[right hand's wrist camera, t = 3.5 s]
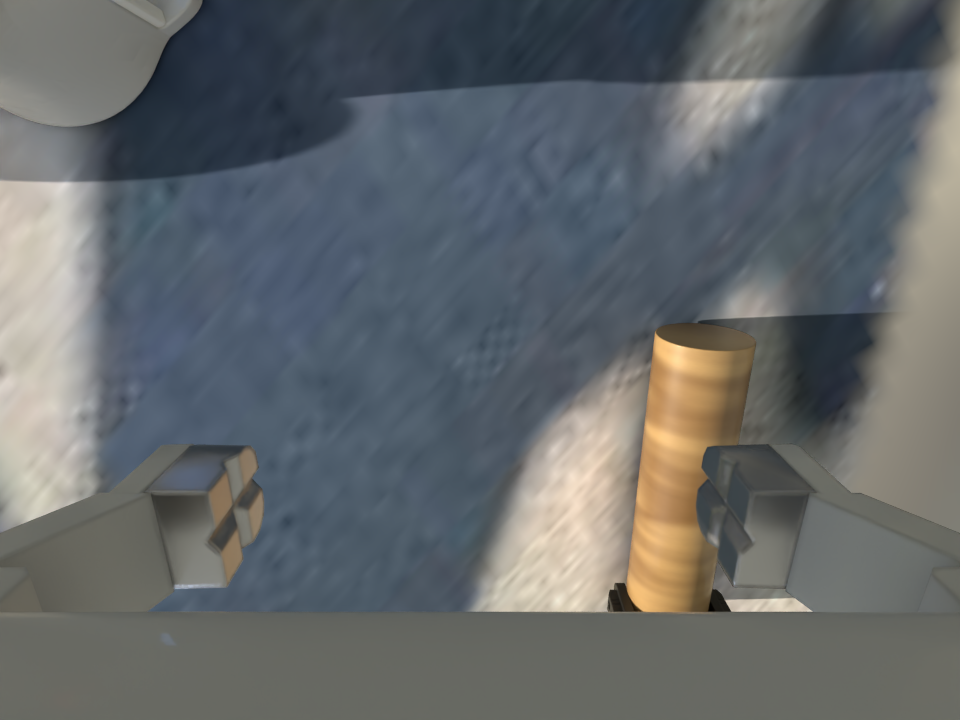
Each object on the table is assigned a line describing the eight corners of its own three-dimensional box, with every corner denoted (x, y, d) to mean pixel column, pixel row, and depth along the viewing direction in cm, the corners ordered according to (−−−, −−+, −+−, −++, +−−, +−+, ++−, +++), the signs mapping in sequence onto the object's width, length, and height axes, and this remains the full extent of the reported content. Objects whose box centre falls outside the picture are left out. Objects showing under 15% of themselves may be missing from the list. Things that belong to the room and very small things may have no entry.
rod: (643, 322, 38) (672, 350, 32) (731, 322, 38) (775, 350, 32) (614, 607, 46) (632, 669, 41) (685, 607, 46) (714, 669, 41)
